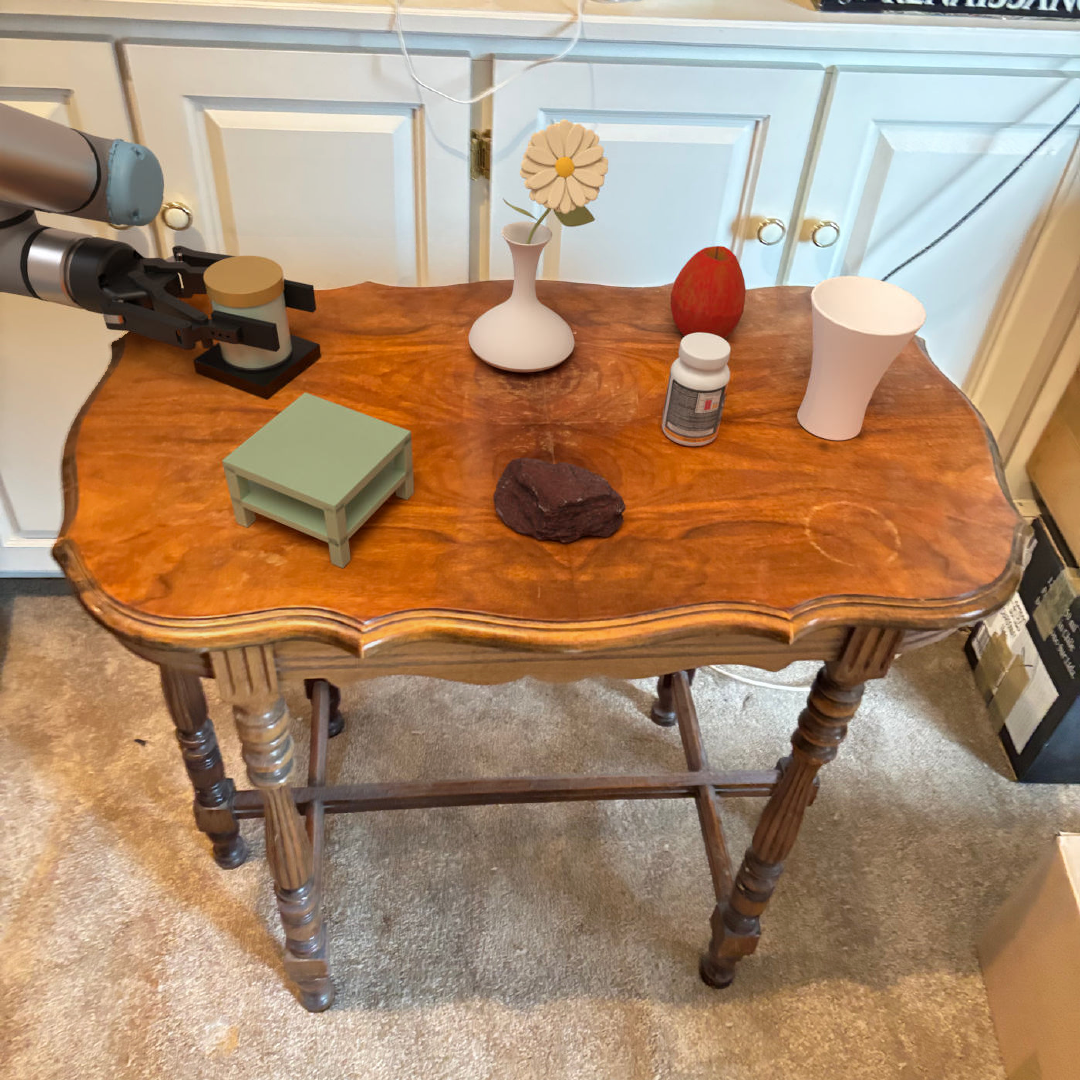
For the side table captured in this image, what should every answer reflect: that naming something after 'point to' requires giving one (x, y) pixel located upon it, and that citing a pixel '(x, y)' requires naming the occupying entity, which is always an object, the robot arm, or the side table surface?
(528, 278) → the flower in vase
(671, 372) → the pill bottle
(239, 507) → the shelf
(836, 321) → the cup
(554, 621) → the side table surface
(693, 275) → the apple
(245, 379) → the hot plate
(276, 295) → the jar
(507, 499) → the rock
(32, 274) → the robot arm
